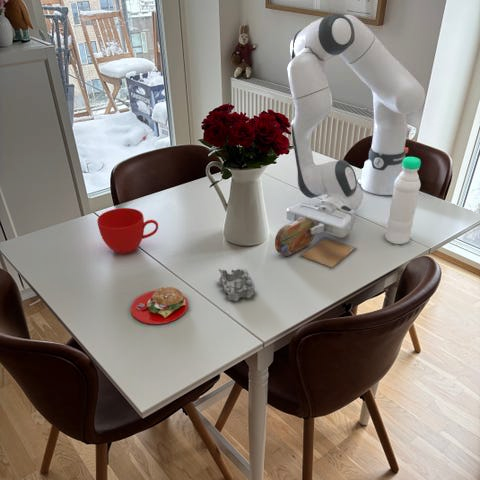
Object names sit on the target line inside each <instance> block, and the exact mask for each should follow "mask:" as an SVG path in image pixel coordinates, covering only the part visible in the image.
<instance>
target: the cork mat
mask: <svg viewBox="0 0 480 480" xmlns="http://www.w3.org/2000/svg"><path fill="white" fill-rule="evenodd" d="M355 250H356V248H355V247H354V246H350V245H347V244H345V243H341V242H339V241H336V240H333V239H330V238H327V237H325V238H323V239H321V241H319V242H318V243H316V244H315V245H314V246H312V247H310V249H308V250H307V251H305V252H304V253H303V254H301V257H302V258H305V259H306V260H310V261H312V262H315V263H318V264H320V265H323V266H326V267H328V268H330V269H333V268H334V267H335V266H337V265H338V264H339V263H340V262H341V261H343V260H344V259H345V258H346V257H348V255H350V254H351V253H352V252H353V251H355Z"/></svg>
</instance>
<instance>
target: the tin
mask: <svg viewBox="0 0 480 480" xmlns="http://www.w3.org/2000/svg"><path fill="white" fill-rule="evenodd" d="M311 226H315V224H314V222H313V221H312V220H310V219H305V218H301V219H298V220H296V221H294V222H293V221H291V223H289V224H286V225H284V226H282V227H281V228H280V229H279V230H278V231H277V233H276V235H275V238H274V247H275V250H276V252H277V253H278V254H281V255H283V256H285V257H290V256H292V255H294V254H296V253H297V252H299V251H301V250H303V249H304V248H306V247H308V246H310V244H311V243H312V242H313V240H314V238H315V234H316V233H314V234H310V233H308V231H309V228H310V227H311Z"/></svg>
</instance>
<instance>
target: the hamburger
mask: <svg viewBox="0 0 480 480" xmlns="http://www.w3.org/2000/svg"><path fill="white" fill-rule="evenodd" d="M188 308H189V301H188V299H187V298H186V296H184V295H183V292H182V291H181V290H180V289H179V288H176V287H174V286H162V287H160V288H157V289H156V290H152V291H149V292H146V293H144V294H143V293H142V294H141V295H139V296H138V297H137V298H136V299H135V300H133V302H132V304H131V306H130V312H131V315H132V317H134V318H135V319H136V320H138V321H140V322H141V323H145V324H151V325H161V324H166V323H170V322H173V321H175V320H177V319H179V318H180V317H182V316H184V314H185V313H186V312H187V310H188Z"/></svg>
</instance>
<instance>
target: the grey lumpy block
mask: <svg viewBox="0 0 480 480" xmlns="http://www.w3.org/2000/svg"><path fill="white" fill-rule="evenodd" d="M218 271H219V274H220V276H219V284H220V286H222V287H223V291H224V293H225V294H227V298H228V300H229V301H233V302H237V301H238V302H239V300H240V299H241V298H247V299H251V298H252V297H253V296H254V295H255V286H256V284H255V283H254V281H253V279H252V277H251V275H250V274H249V271H248V269H246V268H237V269H231V270H230V272H228V271H227V270H226V269H221V268H219V269H218Z"/></svg>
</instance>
